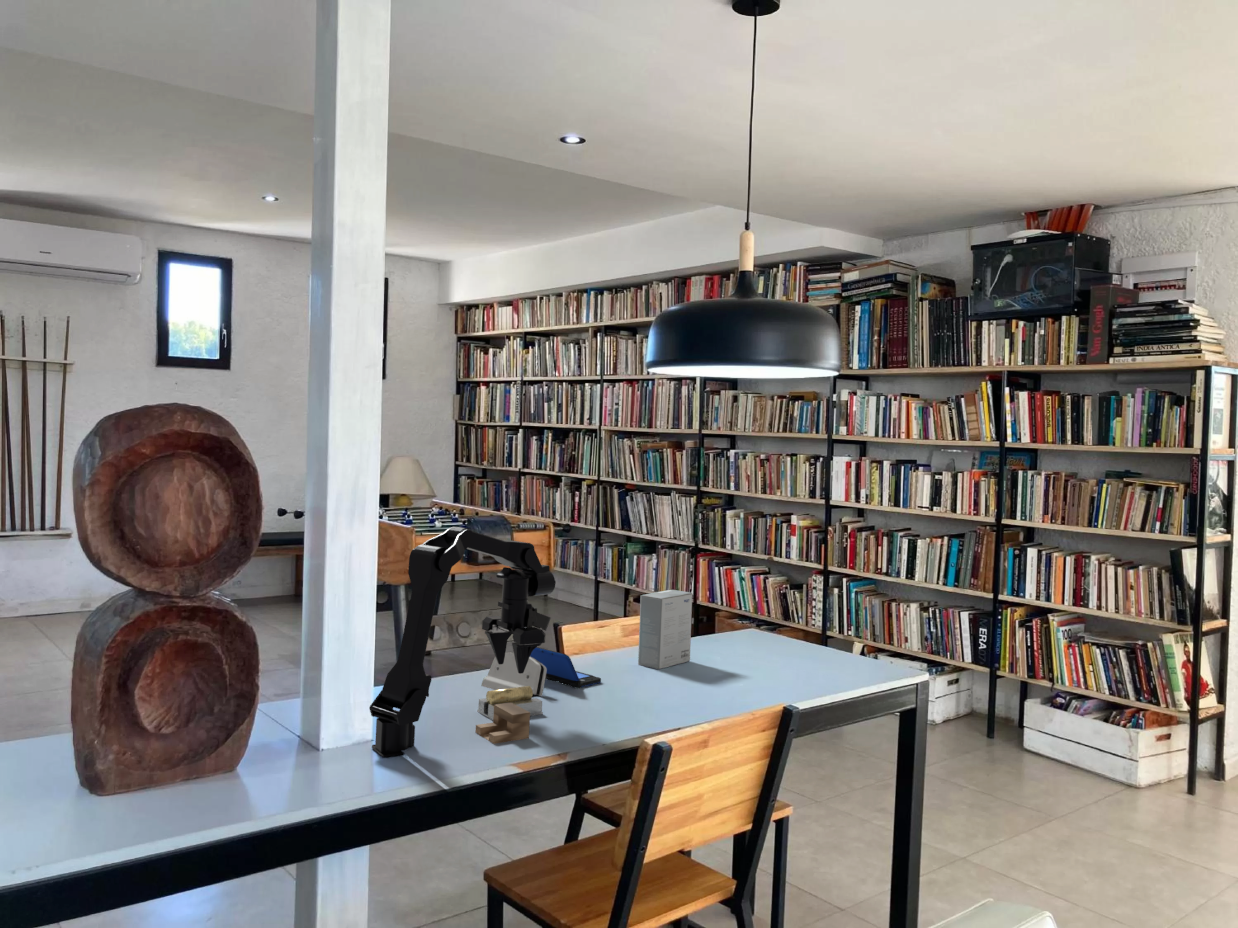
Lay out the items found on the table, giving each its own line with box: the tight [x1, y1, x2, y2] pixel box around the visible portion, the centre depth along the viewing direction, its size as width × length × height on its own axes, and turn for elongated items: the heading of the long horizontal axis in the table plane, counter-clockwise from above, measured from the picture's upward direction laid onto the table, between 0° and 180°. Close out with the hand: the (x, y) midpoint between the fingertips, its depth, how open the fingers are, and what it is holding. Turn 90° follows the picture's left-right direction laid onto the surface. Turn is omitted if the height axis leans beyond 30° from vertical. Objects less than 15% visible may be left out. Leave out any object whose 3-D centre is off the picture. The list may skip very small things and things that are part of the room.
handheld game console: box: [530, 646, 602, 689], centre depth 237 cm, size 16×13×9 cm
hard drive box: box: [637, 589, 693, 670], centre depth 263 cm, size 16×8×20 cm, turn 141°
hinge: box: [481, 651, 547, 697], centre depth 227 cm, size 17×5×10 cm, turn 51°
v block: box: [477, 697, 544, 721], centre depth 204 cm, size 12×8×4 cm, turn 125°
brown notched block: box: [475, 702, 531, 745], centre depth 189 cm, size 8×8×6 cm
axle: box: [485, 686, 534, 704], centre depth 204 cm, size 10×3×3 cm, turn 125°
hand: (510, 668), depth 204 cm, fingers open, 9 cm apart
